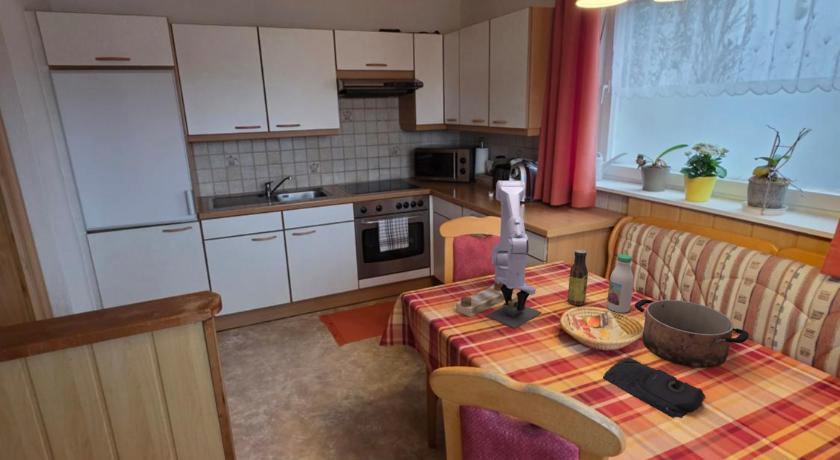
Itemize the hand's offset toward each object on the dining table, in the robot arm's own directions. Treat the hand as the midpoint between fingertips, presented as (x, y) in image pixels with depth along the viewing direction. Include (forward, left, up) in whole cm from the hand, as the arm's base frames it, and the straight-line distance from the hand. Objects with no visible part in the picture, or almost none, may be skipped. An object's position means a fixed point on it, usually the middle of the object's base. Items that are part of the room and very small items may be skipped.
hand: (514, 307), depth 157 cm
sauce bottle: (-25, +10, -3) cm, 27 cm away
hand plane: (+1, -13, -3) cm, 13 cm away
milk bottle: (-31, +23, -3) cm, 39 cm away
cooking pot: (-19, +48, -3) cm, 52 cm away
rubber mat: (0, 0, -3) cm, 3 cm away
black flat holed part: (+8, +49, -3) cm, 50 cm away
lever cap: (0, 0, -1) cm, 1 cm away
